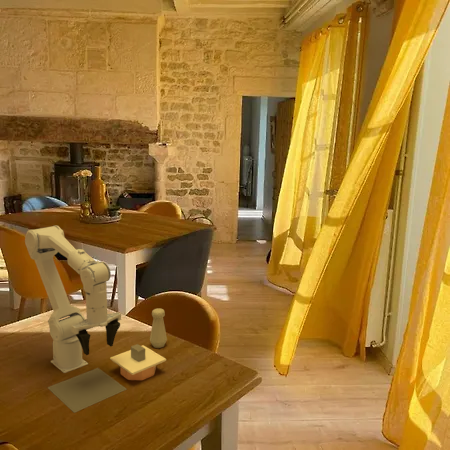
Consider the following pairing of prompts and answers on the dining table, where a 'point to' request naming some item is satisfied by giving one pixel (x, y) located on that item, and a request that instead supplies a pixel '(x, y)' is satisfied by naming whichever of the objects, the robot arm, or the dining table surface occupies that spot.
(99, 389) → the mat
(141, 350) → the lid
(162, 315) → the salt shaker
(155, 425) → the dining table surface
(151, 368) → the bowl
